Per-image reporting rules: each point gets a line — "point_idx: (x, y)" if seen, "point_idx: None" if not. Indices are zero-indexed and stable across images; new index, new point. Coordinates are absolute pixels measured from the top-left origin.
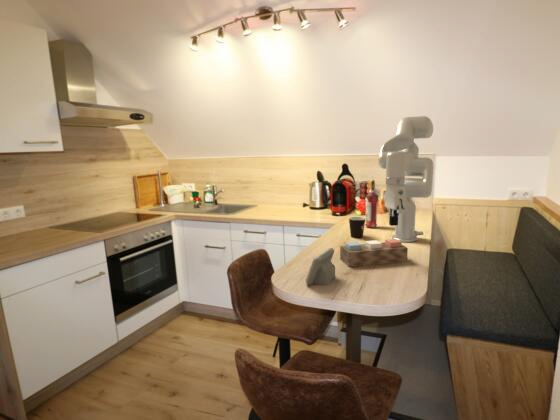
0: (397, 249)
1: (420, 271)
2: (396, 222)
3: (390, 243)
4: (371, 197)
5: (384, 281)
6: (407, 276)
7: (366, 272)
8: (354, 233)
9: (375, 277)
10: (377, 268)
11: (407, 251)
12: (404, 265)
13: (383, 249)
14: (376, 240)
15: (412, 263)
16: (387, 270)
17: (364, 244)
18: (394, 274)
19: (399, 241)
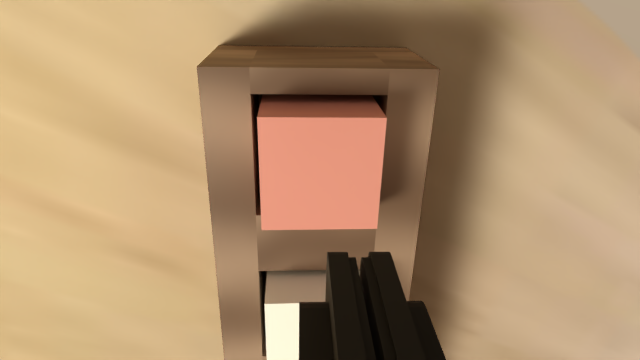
0: (424, 166)
1: (612, 70)
2: (423, 316)
3: (374, 224)
4: None
5: (621, 315)
6: (632, 189)
7: (482, 344)
8: None
9: (559, 331)
10: (452, 280)
11: (428, 62)
12: (470, 110)
13: (408, 278)
14: (269, 305)
15: (457, 30)
16: (503, 245)
17: (237, 347)
18: (572, 238)
19: (365, 130)
